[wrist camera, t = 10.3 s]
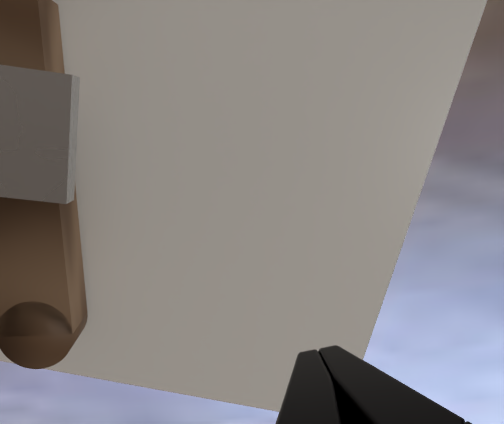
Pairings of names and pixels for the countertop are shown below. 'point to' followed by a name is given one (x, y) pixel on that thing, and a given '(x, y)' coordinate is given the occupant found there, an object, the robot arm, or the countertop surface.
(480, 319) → the countertop surface
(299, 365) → the robot arm
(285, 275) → the base board
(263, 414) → the countertop surface
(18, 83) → the block
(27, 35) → the link
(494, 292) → the countertop surface
